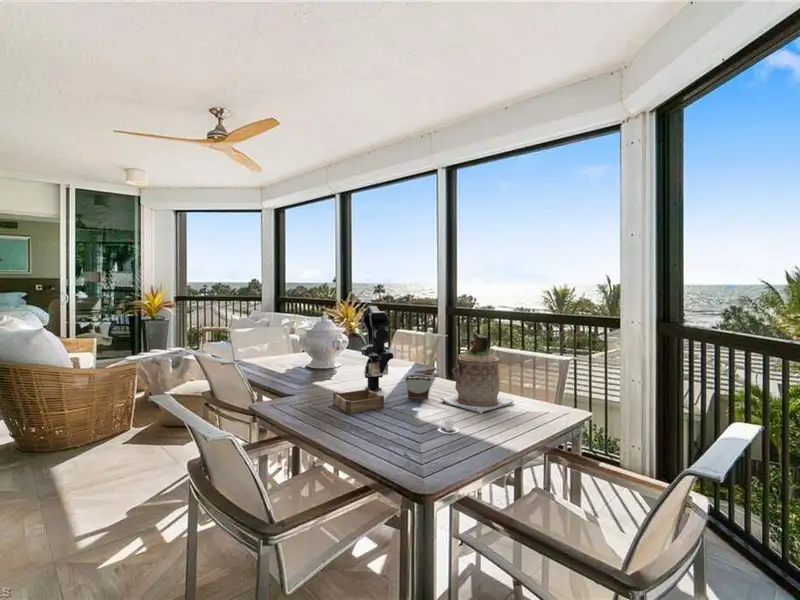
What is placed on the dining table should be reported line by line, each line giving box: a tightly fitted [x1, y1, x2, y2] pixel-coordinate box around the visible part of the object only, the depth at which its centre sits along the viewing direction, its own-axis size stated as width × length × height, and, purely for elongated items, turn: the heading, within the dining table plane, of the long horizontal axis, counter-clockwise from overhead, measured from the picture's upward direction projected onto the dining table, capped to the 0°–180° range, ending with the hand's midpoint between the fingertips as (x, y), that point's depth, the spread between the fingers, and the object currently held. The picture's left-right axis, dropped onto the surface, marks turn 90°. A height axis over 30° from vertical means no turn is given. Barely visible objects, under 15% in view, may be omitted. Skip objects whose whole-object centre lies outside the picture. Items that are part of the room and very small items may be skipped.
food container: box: [404, 373, 432, 399], centre depth 210 cm, size 12×6×10 cm, turn 84°
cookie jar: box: [439, 333, 515, 415], centre depth 199 cm, size 25×25×32 cm
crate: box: [333, 387, 385, 414], centre depth 195 cm, size 16×17×5 cm
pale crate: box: [369, 362, 389, 376], centre depth 207 cm, size 6×7×5 cm
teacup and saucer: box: [437, 418, 460, 435], centre depth 165 cm, size 9×8×4 cm
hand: (378, 371), depth 207 cm, fingers closed on pale crate, 6 cm apart
